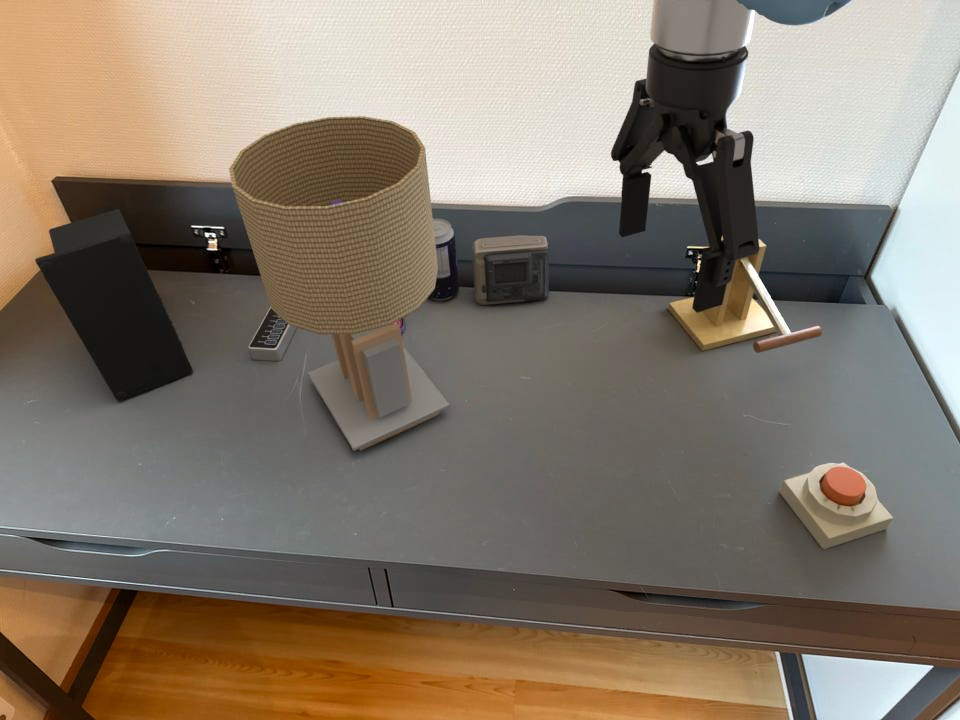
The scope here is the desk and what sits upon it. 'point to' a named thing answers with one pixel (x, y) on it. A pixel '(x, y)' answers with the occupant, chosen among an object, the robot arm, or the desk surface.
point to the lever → (773, 314)
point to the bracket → (726, 313)
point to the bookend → (113, 304)
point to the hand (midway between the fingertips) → (667, 267)
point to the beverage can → (445, 261)
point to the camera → (511, 269)
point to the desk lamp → (347, 258)
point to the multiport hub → (271, 338)
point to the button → (843, 486)
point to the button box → (833, 509)
